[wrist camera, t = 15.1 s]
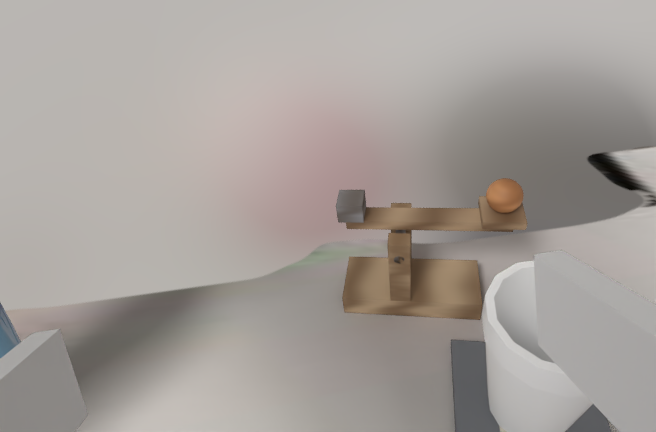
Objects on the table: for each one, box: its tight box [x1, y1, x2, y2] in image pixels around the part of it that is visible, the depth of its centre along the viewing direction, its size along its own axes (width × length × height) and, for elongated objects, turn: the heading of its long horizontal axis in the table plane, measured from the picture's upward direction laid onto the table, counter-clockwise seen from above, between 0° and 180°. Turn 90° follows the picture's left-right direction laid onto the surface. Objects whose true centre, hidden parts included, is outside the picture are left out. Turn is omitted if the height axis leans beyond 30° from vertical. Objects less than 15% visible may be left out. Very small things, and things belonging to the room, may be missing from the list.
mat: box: [451, 340, 611, 432], centre depth 38 cm, size 12×12×1 cm
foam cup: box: [482, 261, 593, 432], centre depth 34 cm, size 10×9×13 cm
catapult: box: [336, 178, 527, 320], centre depth 44 cm, size 17×6×15 cm, turn 81°
